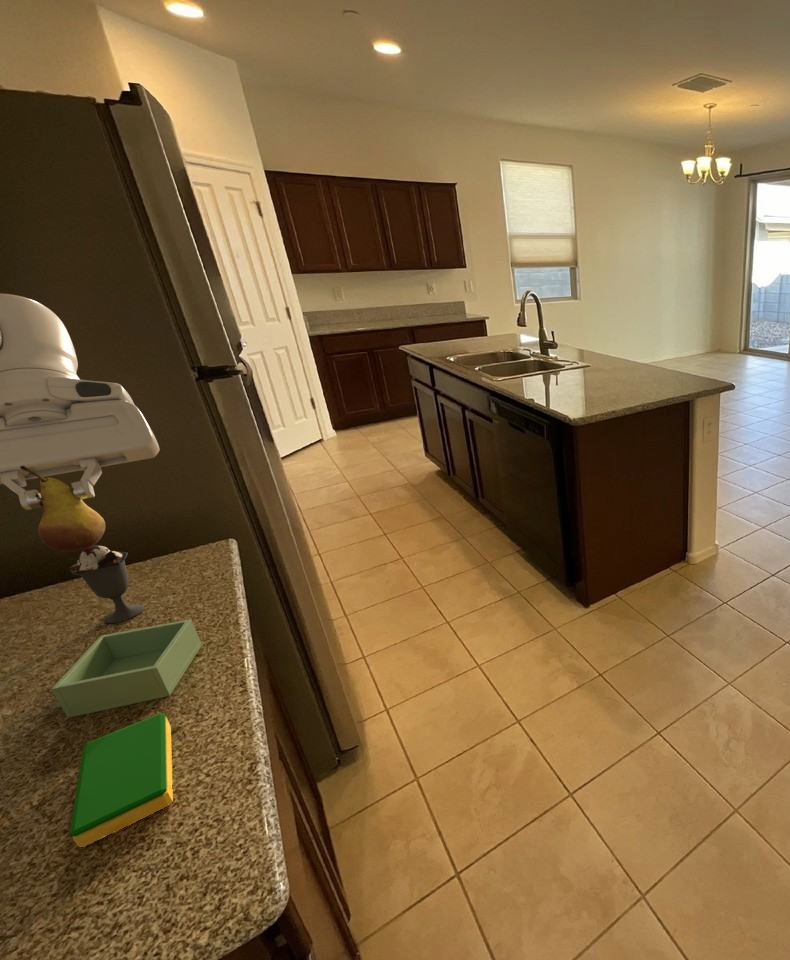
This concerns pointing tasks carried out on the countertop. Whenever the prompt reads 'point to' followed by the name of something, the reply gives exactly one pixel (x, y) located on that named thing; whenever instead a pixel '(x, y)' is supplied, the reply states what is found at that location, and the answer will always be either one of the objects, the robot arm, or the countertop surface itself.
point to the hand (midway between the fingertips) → (59, 501)
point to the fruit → (66, 518)
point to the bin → (128, 668)
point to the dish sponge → (123, 779)
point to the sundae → (107, 579)
